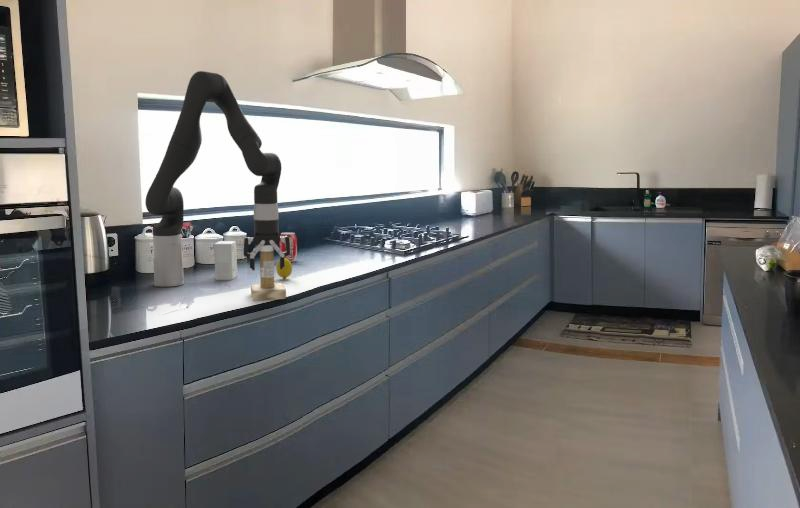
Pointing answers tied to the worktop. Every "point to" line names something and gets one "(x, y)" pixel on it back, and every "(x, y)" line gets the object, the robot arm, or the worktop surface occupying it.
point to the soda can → (293, 246)
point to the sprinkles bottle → (267, 266)
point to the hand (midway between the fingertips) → (267, 269)
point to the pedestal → (268, 292)
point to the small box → (225, 260)
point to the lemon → (284, 269)
